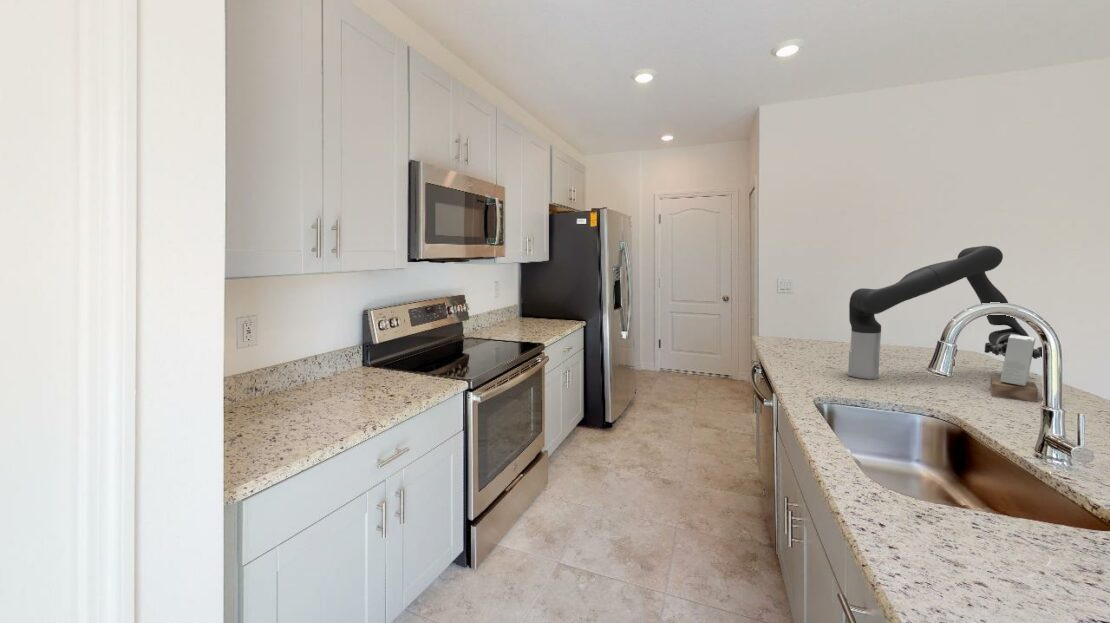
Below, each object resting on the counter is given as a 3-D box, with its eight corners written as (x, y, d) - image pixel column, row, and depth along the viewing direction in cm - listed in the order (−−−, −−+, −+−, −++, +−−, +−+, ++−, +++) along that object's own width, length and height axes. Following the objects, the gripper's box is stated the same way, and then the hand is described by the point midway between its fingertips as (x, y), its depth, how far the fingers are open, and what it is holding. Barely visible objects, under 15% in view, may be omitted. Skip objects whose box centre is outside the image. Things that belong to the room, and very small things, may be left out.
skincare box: (1002, 378, 151) (1009, 333, 149) (1028, 382, 146) (1036, 336, 144) (999, 382, 145) (1007, 336, 143) (1026, 386, 141) (1034, 339, 139)
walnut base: (991, 396, 146) (992, 383, 145) (990, 388, 153) (991, 377, 153) (1036, 402, 139) (1038, 389, 139) (1032, 394, 147) (1033, 382, 146)
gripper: (984, 332, 159) (986, 339, 147) (1043, 336, 150) (1050, 344, 138) (982, 353, 160) (984, 362, 148) (1041, 359, 151) (1048, 368, 139)
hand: (1016, 353), depth 143 cm, fingers open, 8 cm apart
